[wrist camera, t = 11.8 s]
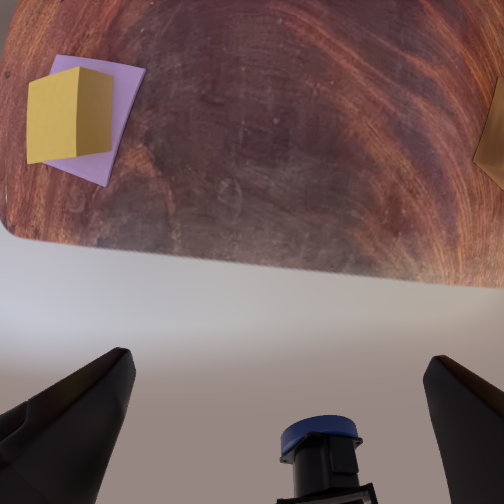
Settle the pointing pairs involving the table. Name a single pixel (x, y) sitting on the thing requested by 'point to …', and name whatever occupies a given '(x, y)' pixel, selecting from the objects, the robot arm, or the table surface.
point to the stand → (493, 139)
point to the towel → (122, 101)
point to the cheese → (69, 115)
